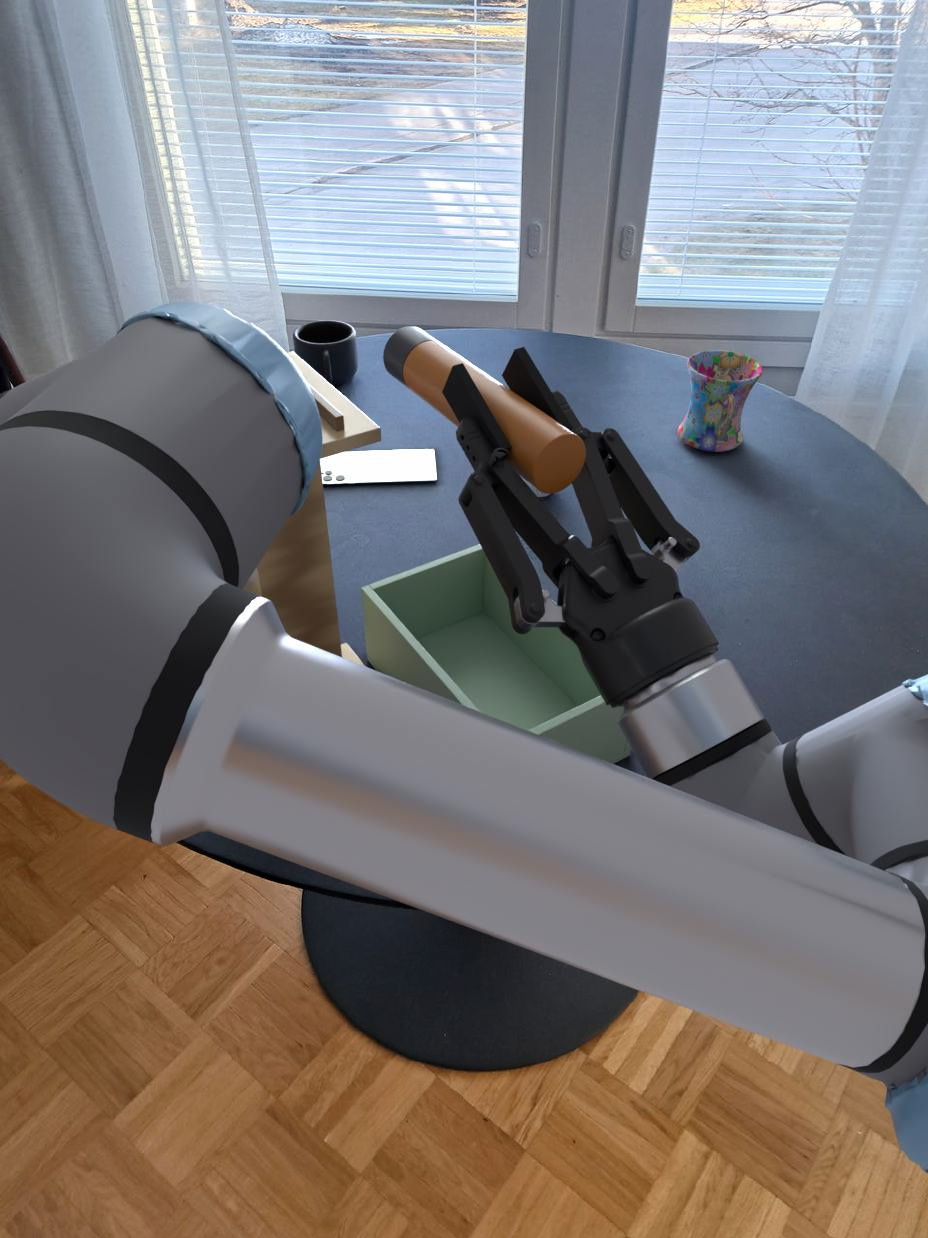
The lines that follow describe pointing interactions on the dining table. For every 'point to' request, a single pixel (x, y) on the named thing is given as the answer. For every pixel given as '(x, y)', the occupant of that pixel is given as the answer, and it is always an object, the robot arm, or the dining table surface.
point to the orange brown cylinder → (534, 436)
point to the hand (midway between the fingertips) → (483, 369)
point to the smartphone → (379, 467)
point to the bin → (486, 654)
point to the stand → (312, 533)
